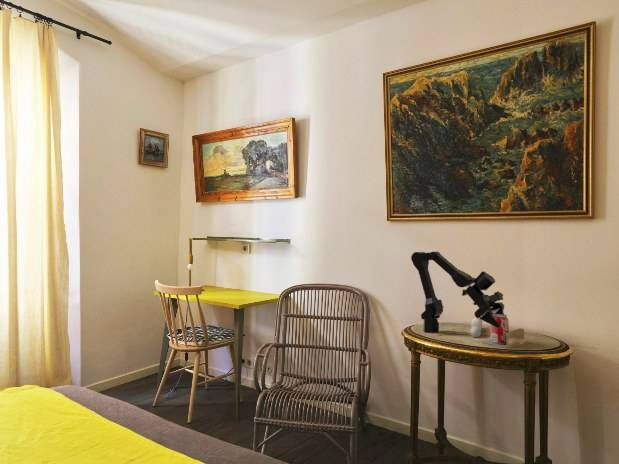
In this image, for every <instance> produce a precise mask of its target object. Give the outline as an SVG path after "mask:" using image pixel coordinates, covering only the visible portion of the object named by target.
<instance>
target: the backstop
mask: <svg viewBox="0 0 619 464" xmlns="http://www.w3.org/2000/svg"><path fill="white" fill-rule="evenodd" d="M524 343H525V329H524V328H517V329H514V330H510V331H509V332H508V333H506V348H508V349H513V348H515V347H517V346H520V345H523V344H524Z"/></svg>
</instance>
